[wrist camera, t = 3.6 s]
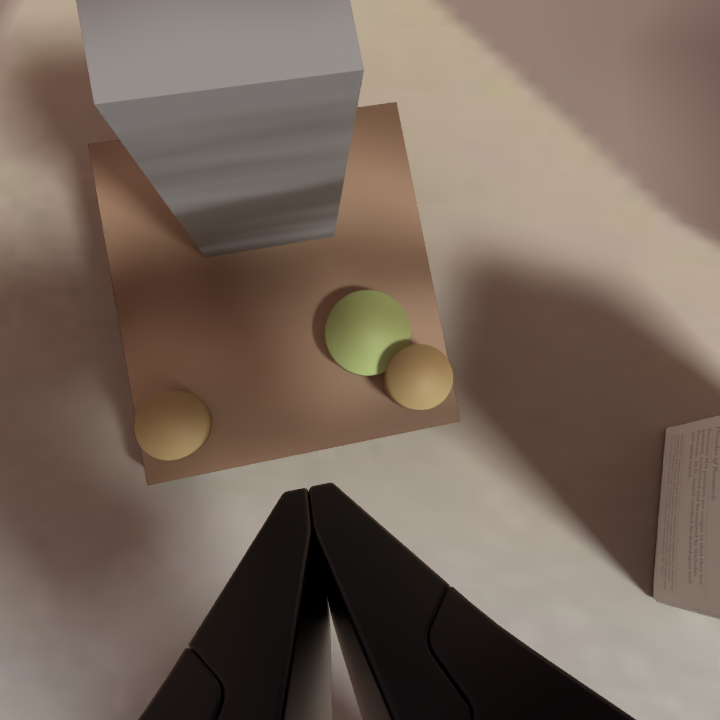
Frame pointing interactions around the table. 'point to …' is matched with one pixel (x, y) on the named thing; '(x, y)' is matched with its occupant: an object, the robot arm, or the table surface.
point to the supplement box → (690, 519)
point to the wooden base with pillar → (258, 234)
